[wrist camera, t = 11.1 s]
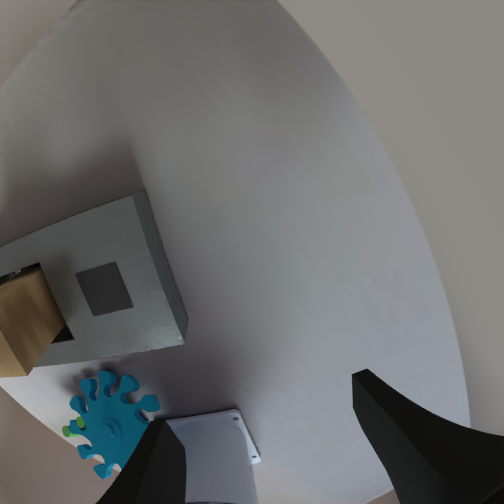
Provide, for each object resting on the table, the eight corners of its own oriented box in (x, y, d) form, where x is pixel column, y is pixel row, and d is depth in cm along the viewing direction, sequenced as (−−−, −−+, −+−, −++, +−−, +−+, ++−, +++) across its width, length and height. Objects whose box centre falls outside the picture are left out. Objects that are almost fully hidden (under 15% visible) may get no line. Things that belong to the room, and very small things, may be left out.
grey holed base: (188, 318, 20) (184, 344, 17) (2, 352, 19) (-13, 371, 16) (145, 189, 17) (131, 195, 14) (-39, 266, 16) (-59, 279, 13)
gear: (152, 364, 19) (176, 496, 14) (186, 369, 24) (205, 475, 20) (51, 371, 20) (66, 477, 15) (92, 377, 25) (105, 467, 21)
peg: (77, 308, 19) (27, 376, 11) (41, 317, 18) (-10, 377, 11) (56, 258, 17) (-10, 309, 10) (20, 271, 17) (-43, 320, 10)
